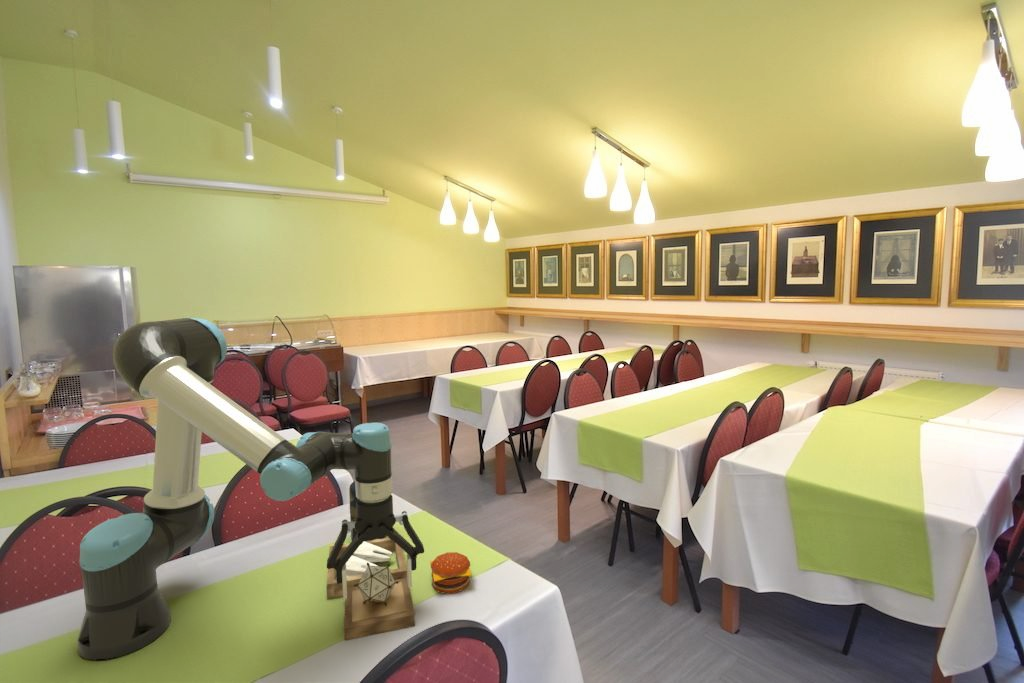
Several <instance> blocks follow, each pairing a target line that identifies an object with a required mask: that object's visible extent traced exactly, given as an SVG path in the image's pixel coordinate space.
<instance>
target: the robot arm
mask: <svg viewBox="0 0 1024 683" xmlns="http://www.w3.org/2000/svg"><path fill="white" fill-rule="evenodd" d="M227 352H228V344H227V339H226V337H225V335H224V333H223V332H222V331H221V330H220V328H219V327H218V326H217V325H216V324H214V322H212V321H209V320H207V319H204V318H200V317H199V318H198V317H197V318H194V317H183V318H177V319H168V320H159V321H157V320H156V321H144V322H140V323H136V324H134V325H132V326H130V327H129V328H127V329H125V330H124V331H123V332H122V333H121V334H120V335H119V336H118V338H117V339H116V341H115V343H114V346H113V351H112V359H113V364H114V368H115V369H116V372H117V373H118V375H119V376H120V377H121V379H122V380H123V381H124V382H125V383H126V384H127V385H128V386H129V387H130V388H132V389H133V390H134V391H135V392H136V393H138V394H140V396H142V397H144V398H147V399H150V398H156V399H157V407H156V408H157V409H156V410H157V412H156V428H155V429H156V430H155V442H154V443H155V445H154V447H155V448H154V462H153V464H154V465H153V477H152V480H153V481H152V489H151V490H149V491H148V492H147V493H146V494H145V495H144V496H143V510H142V512H131V513H125V514H122V515H119V516H118V517H115V518H113V517H112V518H110V519H107V520H105V521H103V522H101V523H99V524H98V525H96V526H94V527H93V528H91V529H90V530H89V531H88V532H87V533H86V534H84V536H83V538H82V539H81V541H80V544H79V558H78V559H79V560H78V561H79V566H80V570H81V577H82V578H81V579H82V586H83V594H84V604H85V612H84V616H83V620H82V622H81V626H80V630H79V633H78V636H77V648H78V649H77V651H78V654H79V656H80V655H81V656H82V657H81V658H83V657H84V658H83V659H85V658H87V659H86V660H89V659H94V660H93V661H97V660H96V659H106V660H110V659H109V658H111V659H115V658H114V657H116V658H119V657H123V656H125V654H126V655H128V654H131V653H133V652H136V651H137V650H139V649H140V650H141V649H142V648H144V647H146V646H147V645H149V644H151V643H152V642H154V641H155V640H156V639H158V638H159V637H160V636H162V635H163V634H164V632H166V630H167V629H168V627H170V624H171V610H170V607H169V604H168V603H167V601H166V600H165V597H164V596H163V594H162V592H161V591H160V589H159V588H158V587H159V586H158V580H157V569H158V568H160V567H161V566H162V565H164V564H165V563H167V562H168V561H170V560H171V559H173V558H174V557H176V556H177V555H179V554H180V553H182V552H183V551H185V550H186V549H188V548H190V547H192V546H193V545H195V544H197V543H198V542H199V541H200V540H201V538H203V537H204V536H205V535H206V534H208V532H209V531H210V529H211V528H212V526H213V523H214V520H215V509H214V508H215V507H214V505H213V503H211V502H210V501H211V499H210V497H209V496H208V495H207V494H206V492H205V489H203V488H202V487H201V486H200V485H199V473H200V458H201V448H202V446H201V445H202V433H203V434H205V435H206V436H207V437H209V439H211V440H212V441H214V442H216V443H217V444H218V445H220V446H221V447H222V448H223V449H225V450H226V451H228V452H229V453H231V454H232V455H233V456H234V457H236V458H238V460H240V461H241V462H243V463H244V464H245V465H247V466H248V467H250V468H251V469H252V470H254V471H255V472H257V473H258V474H259V475H260V476H259V482H260V483H259V484H260V487H261V488H262V490H263V491H264V494H265V495H266V496H267V497H268V498H270V499H271V500H273V501H277V502H285V501H290V500H291V499H293V498H295V497H296V496H298V495H300V494H302V493H304V492H305V491H306V490H307V489H309V487H311V486H312V485H313V484H314V483H315V482H317V481H318V480H319V479H321V478H322V477H324V476H325V475H327V474H328V473H329V472H330V471H332V470H345V471H346V470H348V471H349V470H352V471H354V481H355V487H356V497H357V500H356V511H357V519H356V521H352V522H351V521H349V520H347V519H343V520H342V521H341V529H340V531H339V534H338V536H337V539H336V540H335V542H334V545H333V546H334V547H333V549H332V551H331V553H330V555H329V554H328V557H327V560H326V568H327V570H328V569H331V568H334V569H335V570H336V574H335V578H336V579H337V583H338V584H339V583H343V596H342V600H345V599H347V579H346V562H347V561H348V560H349V559H350V557H351V556H352V555H353V553H354V552H355V551H356V550H357V548H358V547H359V546H360V545H361V544H362V543H363V542H364V540H365V539H367V540H369V541H371V540H374V539H384V537H385V538H388V537H389V538H390V539H391V540H393V541H394V542H395V543H396V544H397V545H398V546H400V547H401V548H402V549H403V552H405V553H406V556H405V557H406V569H407V582H408V587H409V588H413V580H412V579H413V578H412V577H413V576H412V574H413V573H412V571H416V570H417V556H418V555H419V554H420V555H421V554H424V553H425V547H424V544H423V542H422V541H421V540H420V537H419V536H418V534H417V532H416V531H415V529H414V528H413V526H412V524H411V522H410V521H409V516H408V512H407V511H406V510H404V511H402V512H401V513H400V514H396V515H395V514H394V504H393V502H394V501H393V498H394V497H393V495H392V494H393V477H392V476H393V474H392V472H393V471H392V443H391V442H392V441H391V433H390V428H389V427H388V425H386V424H385V423H381V422H365V423H361V424H358V425H355V427H354V428H353V430H352V433H348V432H347V433H344V432H341V433H340V432H325V431H316V432H314V431H312V432H305V433H304V434H302V436H301V435H300V439H299V440H298V441H297V443H296V445H295V444H293V443H292V442H290V441H289V440H287V439H286V438H285V437H283V436H282V435H280V434H279V433H277V432H276V431H275V430H274V429H272V428H271V427H270V426H268V425H267V424H266V423H264V422H263V421H261V420H260V419H259V418H257V417H256V416H254V415H253V413H250V412H249V411H247V409H245V408H243V407H242V406H241V405H240V404H238V403H237V402H235V401H234V400H232V399H231V398H230V397H229V396H227V395H226V394H224V393H223V392H221V391H220V390H219V389H217V388H216V387H215V386H213V385H212V384H211V383H213V382H214V375H215V367H217V366H219V365H220V364H221V363H222V362H223V361H224V360H225V359H226V356H227ZM396 522H397V523H399V525H400V526H403V529H404V530H405V532H406V533H407V536H408V537H409V539H410V540H411V542H412V543H413V544H414V546H413V545H412V544H411V543H410V542H409V541H408V540H406V538H404V537H403V535H401V534H400V533H399V532H398V531H396V529H395V528H394V525H395V524H396ZM353 528H355V529H356V530H357V531H358V533H357V534H356V536H355V538H354V539H353V540H352V539H351V542H349V543H350V544H349V543H348V544H349V545H348V547H347V548H346V549H345V551H344V552H343V553H342V554H341V556H340V557H339V558H338V560H337V556H338V554H339V552H340V550H341V548H342V546H343V544H345V542H346V540H347V537H348V534H349V533H350V534H351V530H352V529H353ZM153 640H154V641H153ZM122 655H123V656H122ZM118 656H119V657H118Z"/></svg>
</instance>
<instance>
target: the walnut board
mask: <svg viewBox="0 0 1024 683" xmlns="http://www.w3.org/2000/svg"><path fill="white" fill-rule="evenodd" d="M396 581H398V582H399V583H398V584H396V583H395V585H394V587H393V589H392V591H391V592H390V594H389V596H388V598H387V600H386V602H387V606H386V605H385V604H384V602H368V601H366V603H365V604H363V602H364V601H365V599H364V598H363V596H362V594H361V592H360V590H359V588H358V587H353V588H348V589H347V599H344V628H343V630H344V641H349V640H353V639H358V638H362V637H368V636H372V635H376V634H382V633H387V632H391V631H396V630H401V629H406V628H410V627H409V626H411V627H414V626H413V625H415V626H416V618H415V617H416V615H415V610H414V604H413V599H412V594H411V589H410V588H411V587H408V582H407V578H404V579H398V580H395V582H396ZM405 627H406V628H405Z"/></svg>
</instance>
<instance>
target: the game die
mask: <svg viewBox="0 0 1024 683" xmlns="http://www.w3.org/2000/svg"><path fill="white" fill-rule="evenodd" d="M367 566H368V568H367V569H366V571H365V573H364V574H363V576H362V578H361V579H360V581H359V583H358V584H355V585H353V586H355V587H356V586H358V588H359V590H360V592H361V594H362V596H363V598H364V599H365V601H364V602H363V604H365V603H366V601H368V602H384V604H385V605H386V606H387V602H386V600H387V598H388V596H389V594H390V592H391V591H392V589H393V587H394V585H395V583H396V584H398V583H399V582H398V581H396V582H395V580H394V578H393V576H392V574H391V572H390V570H391V569H390V567H391V563H389V564H387V565H386V566H383V565H382V566H381V565H377V566H369V563H368V562H367Z"/></svg>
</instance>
